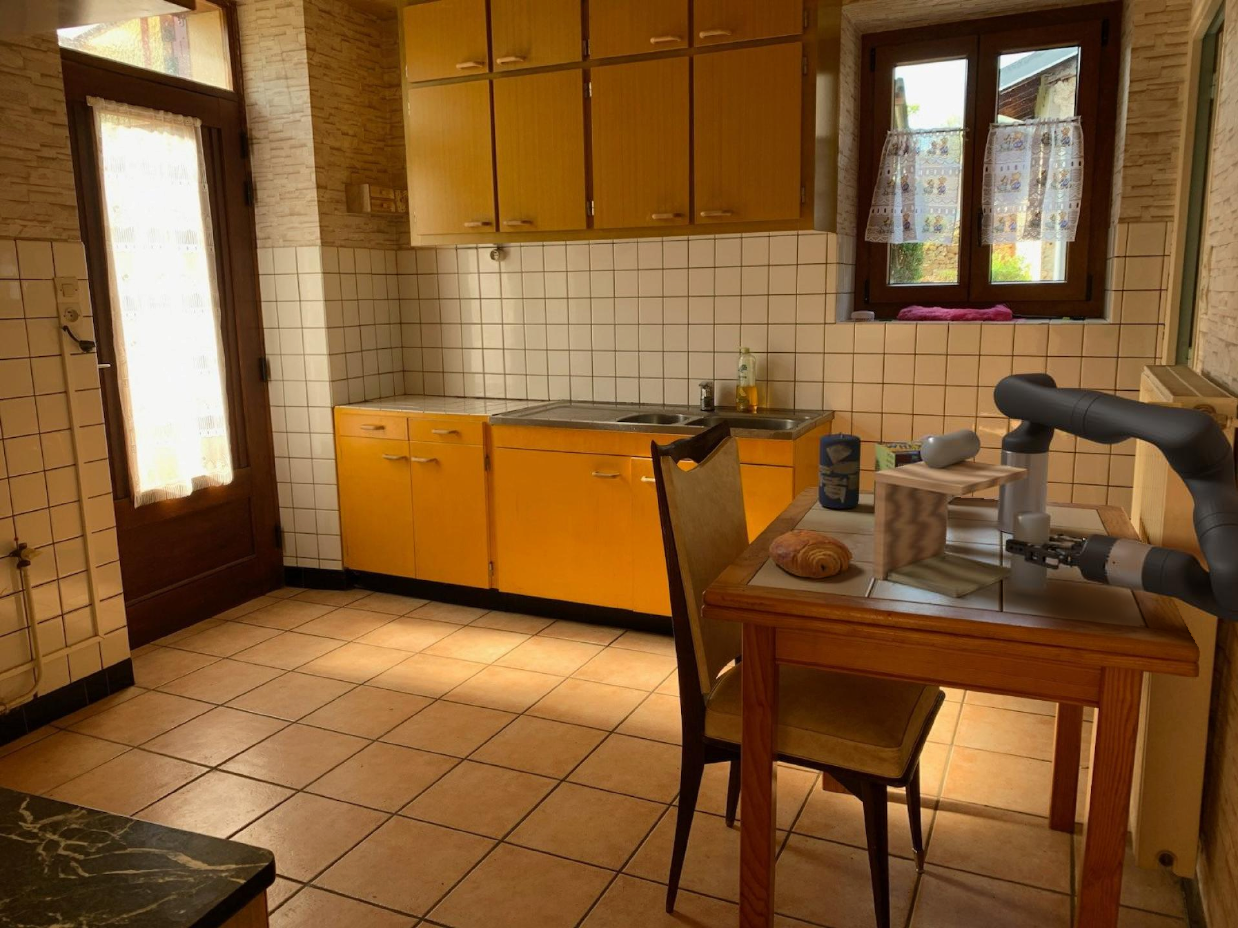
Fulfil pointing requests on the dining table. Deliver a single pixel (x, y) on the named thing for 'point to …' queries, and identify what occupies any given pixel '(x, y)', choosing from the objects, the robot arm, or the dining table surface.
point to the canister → (839, 470)
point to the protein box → (895, 456)
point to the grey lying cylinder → (950, 448)
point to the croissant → (810, 554)
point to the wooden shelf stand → (930, 525)
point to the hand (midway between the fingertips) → (1016, 541)
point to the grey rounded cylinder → (1036, 531)
